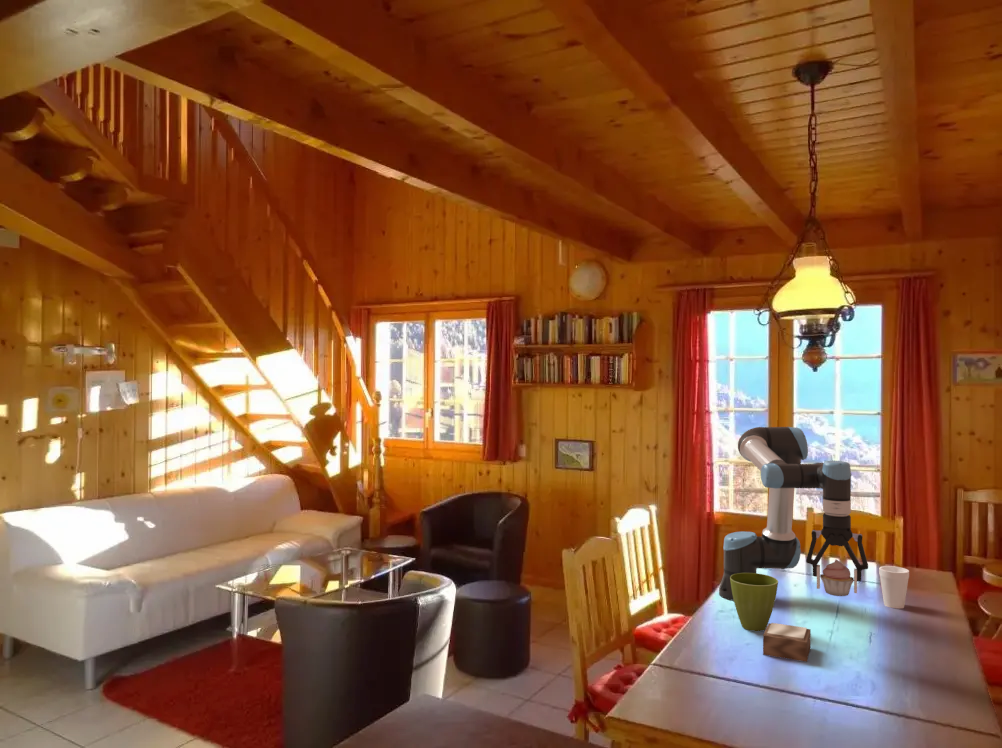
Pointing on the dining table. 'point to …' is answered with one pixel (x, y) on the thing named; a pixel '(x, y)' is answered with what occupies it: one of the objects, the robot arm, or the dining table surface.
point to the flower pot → (754, 599)
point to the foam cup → (894, 585)
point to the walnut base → (787, 641)
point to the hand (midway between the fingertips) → (836, 589)
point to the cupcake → (837, 579)
